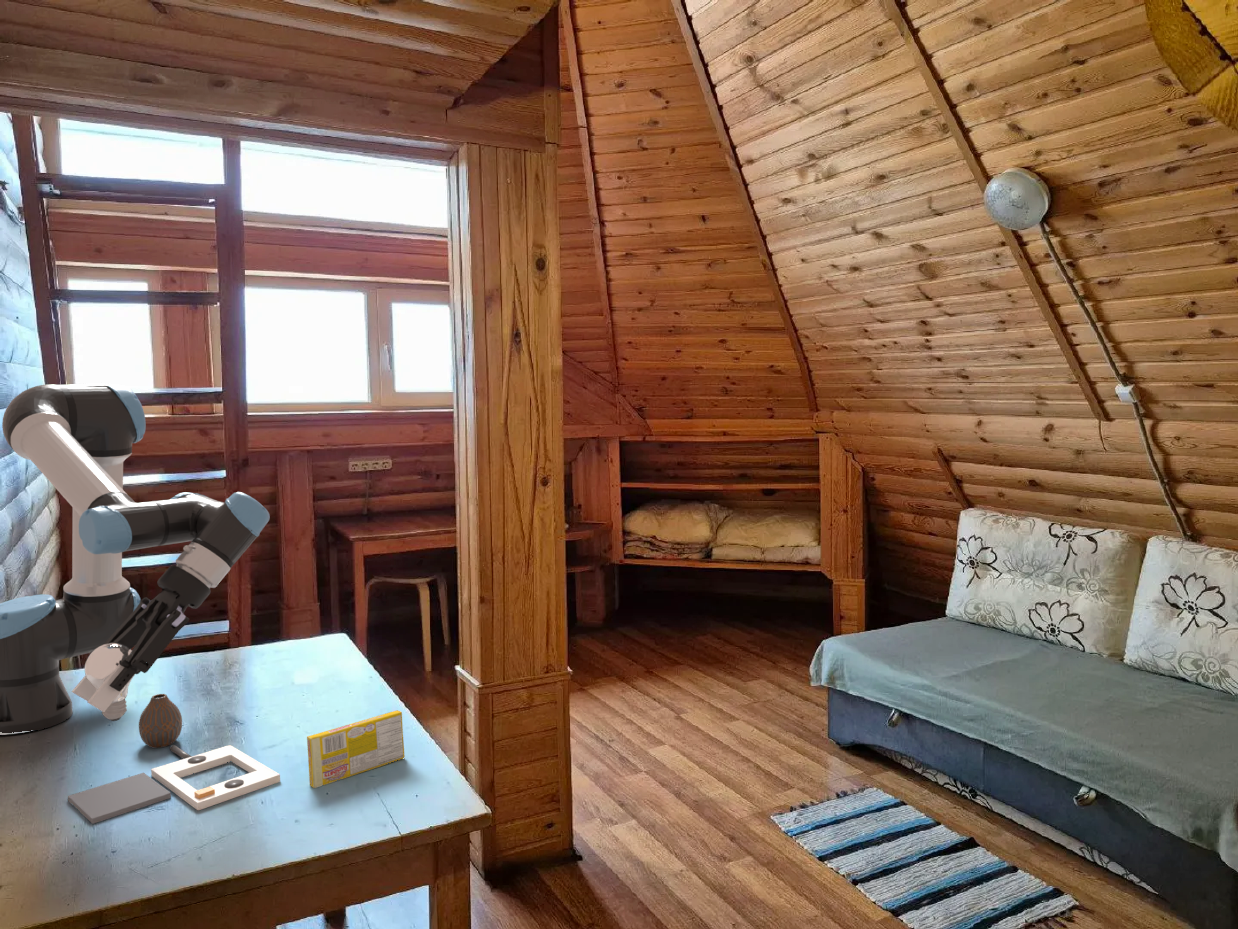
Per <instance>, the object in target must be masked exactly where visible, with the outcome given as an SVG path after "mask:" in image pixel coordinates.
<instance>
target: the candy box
mask: <svg viewBox="0 0 1238 929" xmlns="http://www.w3.org/2000/svg"><path fill="white" fill-rule="evenodd" d="M306 743H307V757H308V778H309V786H310V787H312V788H313V789H317V788H319V787H322V785H323V786H326V785H329V784H332V783H335V782H337V780H338V781H340V779H341V780H344V779H348V778H349V777H353V776H357V775H358V774H363V773H365V772H368V771H370V770H373V769H377V768H380V767H384V766H386V765H389V764H392V763H391V762H393V763H395V762H398V761H401V760H400V759H402V760H404V759H405V758H406V757H405V745H404V744H405V743H404V731H403V712H402V711H400V710H394V711H390V712H386V713H383V714H380V715H376V716H372V717H369V718H366V719H363V720H359V721H356V722H352V723H349V724H345V725H343V726H340V727H339V726H338V727H335V728H331V729H329V730H325V731H321V732H318V733H314V734H311V735H308V736H306ZM404 757H405V758H404ZM403 758H404V759H403ZM397 760H398V761H397ZM394 761H395V762H394ZM388 763H389V764H388Z"/></svg>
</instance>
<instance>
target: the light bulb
mask: <svg viewBox="0 0 1238 929" xmlns="http://www.w3.org/2000/svg"><path fill="white" fill-rule="evenodd" d="M132 650H133V649H129V648H128V647H127V646H125V645H123V644H119V643H107V644H104V645H101V646H99V647H98V648H96V649H95V650H94V651H93V652H91V653H89V655H88V656H87V658H86V660H85V664H84V674H85V675H86V678H87V680H88V681H89V683H90V684H91V685H92V686H93V687H94V688H95V690H96V691H97V690H98V689H99V687H100V686H101V685H102V684H103V683H104V681H105V680H106V679H107V678H108V677H109V675H110V674H111V673H112V672H113V671H114V670H115V669H116V667H117V666H118V665H119V661H120V660H126V659H127V657H128V656H129V654H130V653H131V651H132ZM120 665H121V664H120ZM121 666H123V665H121ZM123 667H124V666H123ZM85 675H84V676H85ZM132 679H133V678H132ZM132 679H131V680H130V681H129V683H128V684H127V685H126V686H125V687H124V689H123V690H122V691H121V692H120V694H119V695H118V696H117V697H116V698H115V700H114V701H113V702H112V703H111V704H110V706H109V707H108V708H107V709H106V710H105V712H102V711H101V714H102V715H103V716H104V718H106V719H108V720H109V721H111V722H116V721H119V720H120V719H121V718H122V717H123V716H124V715H125V713H126V712H127V711H128V709H127V706H128V705H127V700H126V699H127V696H128V691H129V686H130V684H131V682H132Z"/></svg>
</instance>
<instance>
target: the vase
mask: <svg viewBox="0 0 1238 929" xmlns="http://www.w3.org/2000/svg"><path fill="white" fill-rule="evenodd" d="M182 716H183V715H182V713H181V711H180V708H178V706H177V705H176V704H175V703H174V702H173V701H171V699H170V698H169V697H168V695H167V694H165V693H158V694H157V693H156V694H154V695H152V696H151V698H150V700H149V702H148V704H147V705H146V706H145V708H144V709H143V711H142V712H141V714H140V716H139V721H138V732H139V735H140V738H141V741H142V742H143V743H144V744H145V745H146V746H148V747H149V748H154V749H156V748H157V749H158V748H164V747H168V746H172V745H173V744H174V743H175V742H176V741H177V739H178V738H179V736H180V735H181V732H182V728H183V717H182Z"/></svg>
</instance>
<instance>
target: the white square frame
mask: <svg viewBox="0 0 1238 929" xmlns="http://www.w3.org/2000/svg"><path fill="white" fill-rule="evenodd" d="M169 747H170V748H169V750H170V751H171V752H172V753H173V754H176V756H178V757H180V758H181V759H180V760H176V761H173V762H170V763H166V764H163V765H160V766H156V767H153V768H151V769H150V772H151V773H150V774H151V778H152V779H155V780H156V782H159V784H160V783H161V784H162V786H163V787H166V788H167V790H169V791H170V792H172V793H174V794H175V795H176V796H177V797H179V798H180V799H182V801H185V802H186V803H187V804H189V805H190V806H191V807H193V808H194V809H195V810H197V811H200V810H203V809H206V808H210V807H213V806H214V805H217V804H220V803H224V802H227V801H229V800H232V799H234V798H238V797H240V796H243V795H246V794H249V793H252V792H254V791H258V790H261V789H263V788H267V787H269V786H272V785H274V784H278V783H281V774H280V773H278V772H277V771H275V770H274V769H272V768H270V767H268V766H266V765H265V764H263V763H262V762H259V761H258V760H256V759H255V758H253V757H251V756H250V755H248V754H246V753H245V752H243V751H241V750H239V749H238V748H236V747H234V746H233V745H230V744H229V745H225V746H221V747H219V748H215V749H212V750H208V751H206V752H202V753H199V754H196V755H193V756H192V755H191V754H189V753H187V752H186V751H185V750H183V749H181V748H179V747H178V746H177V745H175V744H171V745H170V746H169ZM230 761H232V762H230ZM227 762H228V763H233V764H235V765H236V766H238V767H240V768H241V769H243V770H244V771H246V772H247V773H246V774H243V775H242V774H241V775H240V776H237V777H234V778H231V779H228V780H225V781H222V782H219V783H216V784H213V785H209V786H207V787H203V788H200V789H197V788H195V787H193V786H192V785H190V784H189V783H188V782H186V781H185V780H183V779H182V778H184V777H187V776H190V775H193V773H194V774H198V773H199V772H203V771H205V770H209V769H212V768H215V767H218V766H221V765H225V764H228V763H227Z"/></svg>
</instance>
